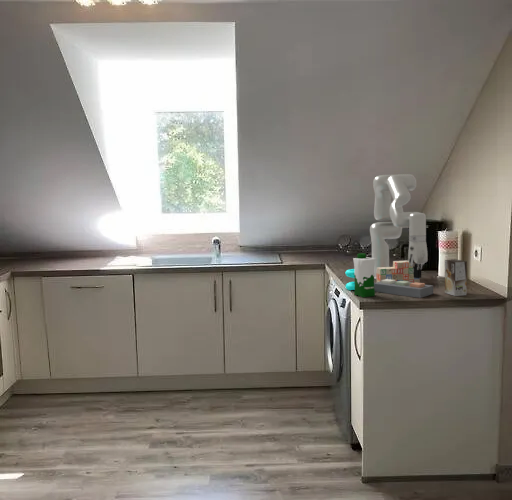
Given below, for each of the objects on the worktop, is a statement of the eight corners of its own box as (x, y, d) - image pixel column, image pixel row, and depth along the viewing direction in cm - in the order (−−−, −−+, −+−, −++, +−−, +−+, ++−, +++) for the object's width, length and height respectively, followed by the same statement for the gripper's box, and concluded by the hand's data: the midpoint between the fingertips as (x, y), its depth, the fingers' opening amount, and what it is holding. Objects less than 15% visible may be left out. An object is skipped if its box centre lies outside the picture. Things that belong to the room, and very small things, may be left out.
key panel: (372, 291, 265) (372, 283, 264) (386, 287, 273) (386, 280, 272) (420, 297, 246) (420, 289, 245) (433, 293, 254) (433, 285, 254)
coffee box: (467, 295, 248) (467, 261, 247) (455, 296, 247) (455, 262, 245) (455, 291, 257) (456, 258, 256) (443, 292, 256) (444, 259, 254)
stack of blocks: (380, 286, 277) (380, 263, 276) (376, 284, 283) (376, 261, 282) (419, 284, 279) (420, 261, 278) (415, 282, 285) (415, 259, 284)
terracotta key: (409, 290, 253) (409, 283, 253) (415, 288, 257) (415, 282, 256) (419, 291, 250) (419, 284, 249) (424, 289, 253) (424, 283, 253)
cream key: (381, 286, 265) (381, 280, 265) (386, 284, 268) (386, 278, 268) (389, 287, 261) (389, 281, 261) (395, 285, 265) (395, 280, 264)
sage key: (395, 288, 259) (395, 282, 259) (400, 286, 263) (400, 280, 262) (404, 289, 256) (404, 283, 255) (409, 287, 259) (409, 281, 259)
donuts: (347, 271, 265) (343, 268, 275) (347, 291, 266) (343, 288, 276) (367, 271, 265) (362, 268, 275) (367, 290, 266) (363, 287, 276)
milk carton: (366, 293, 261) (366, 252, 259) (378, 296, 253) (377, 254, 251) (351, 295, 257) (351, 254, 255) (362, 298, 249) (362, 255, 247)
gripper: (416, 240, 243) (416, 280, 245) (432, 238, 253) (432, 276, 255) (401, 240, 248) (401, 279, 250) (418, 237, 258) (418, 275, 260)
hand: (417, 277), depth 253 cm, fingers closed
